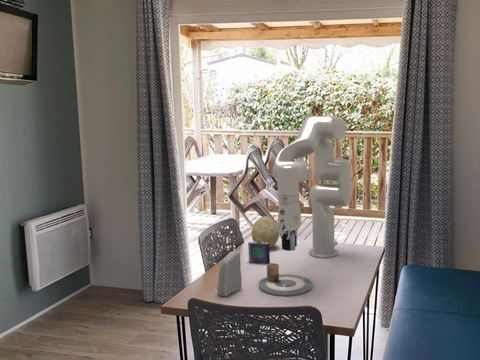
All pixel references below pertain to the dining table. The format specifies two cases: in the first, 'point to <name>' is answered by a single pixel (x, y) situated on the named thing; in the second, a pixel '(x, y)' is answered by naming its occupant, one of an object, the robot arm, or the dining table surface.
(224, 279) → the decorative stone
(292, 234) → the smooth blue-gray rounded cylinder
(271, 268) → the brown rounded cylinder
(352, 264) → the dining table surface
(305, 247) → the dining table surface
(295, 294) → the plate
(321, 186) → the robot arm
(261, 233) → the fossilized egg
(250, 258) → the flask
